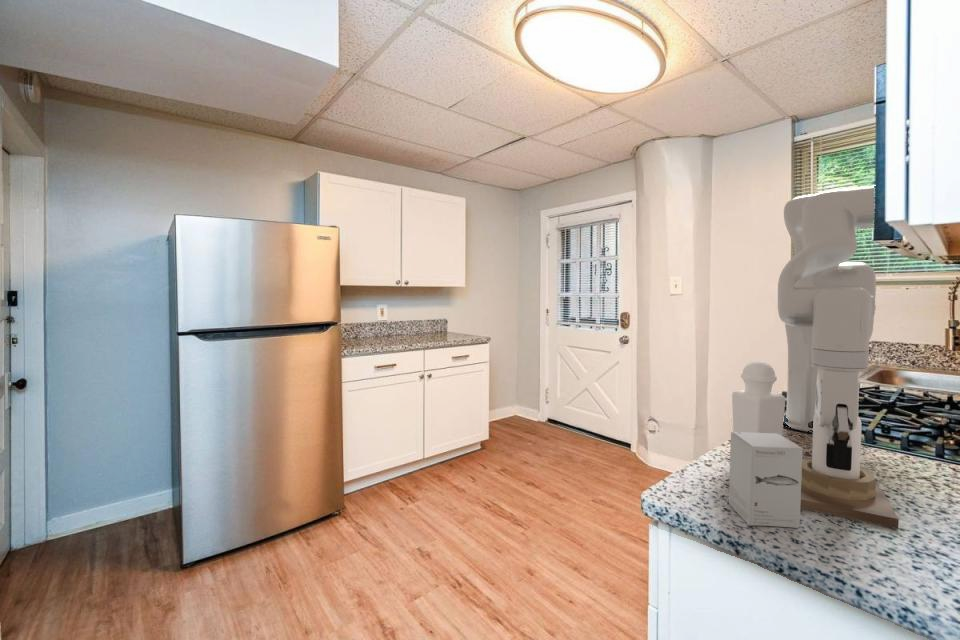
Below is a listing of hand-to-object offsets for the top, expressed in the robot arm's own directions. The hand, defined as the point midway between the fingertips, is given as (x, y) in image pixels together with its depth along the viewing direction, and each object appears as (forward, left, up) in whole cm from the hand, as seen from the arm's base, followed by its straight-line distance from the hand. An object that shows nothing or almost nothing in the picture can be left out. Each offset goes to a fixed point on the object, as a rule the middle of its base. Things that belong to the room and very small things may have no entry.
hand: (835, 460), depth 75 cm
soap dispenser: (-5, -12, -6) cm, 14 cm away
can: (0, 0, -3) cm, 3 cm away
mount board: (0, 0, -6) cm, 6 cm away
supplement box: (+15, -10, -6) cm, 19 cm away
